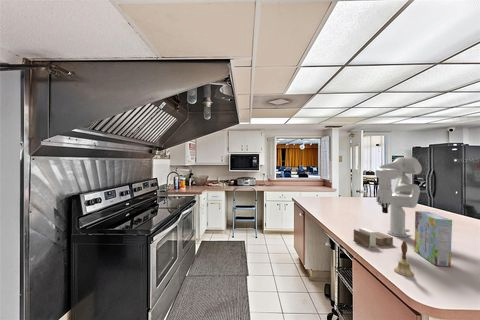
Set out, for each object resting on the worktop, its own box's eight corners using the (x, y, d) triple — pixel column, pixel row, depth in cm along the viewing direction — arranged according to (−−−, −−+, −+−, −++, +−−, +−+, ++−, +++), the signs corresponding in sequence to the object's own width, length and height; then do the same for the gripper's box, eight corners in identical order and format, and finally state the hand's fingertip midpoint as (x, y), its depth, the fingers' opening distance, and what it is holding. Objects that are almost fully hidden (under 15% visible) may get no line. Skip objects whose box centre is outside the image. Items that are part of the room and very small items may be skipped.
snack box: (452, 267, 125) (453, 219, 125) (434, 266, 127) (435, 218, 127) (428, 252, 146) (429, 211, 146) (413, 250, 148) (413, 210, 148)
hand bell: (418, 276, 115) (418, 244, 115) (402, 276, 115) (402, 244, 114) (404, 268, 123) (405, 238, 123) (390, 268, 123) (390, 238, 123)
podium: (377, 238, 170) (377, 227, 170) (393, 245, 158) (393, 233, 158) (353, 240, 165) (353, 229, 165) (367, 247, 152) (368, 235, 152)
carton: (364, 227, 165) (359, 228, 164) (375, 232, 155) (370, 232, 154) (364, 240, 165) (358, 240, 164) (375, 245, 155) (370, 246, 154)
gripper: (388, 185, 169) (389, 210, 170) (371, 186, 165) (372, 212, 166) (398, 187, 162) (398, 213, 162) (380, 188, 158) (380, 215, 159)
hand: (385, 212), depth 164 cm, fingers closed
